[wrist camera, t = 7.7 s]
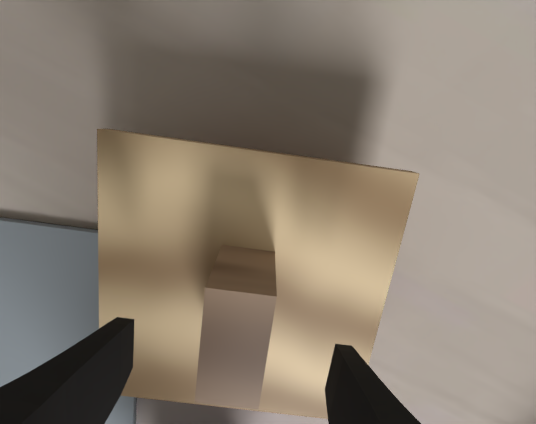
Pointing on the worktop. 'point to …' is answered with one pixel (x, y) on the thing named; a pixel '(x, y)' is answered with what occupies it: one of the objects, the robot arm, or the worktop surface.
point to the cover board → (250, 211)
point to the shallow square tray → (48, 298)
